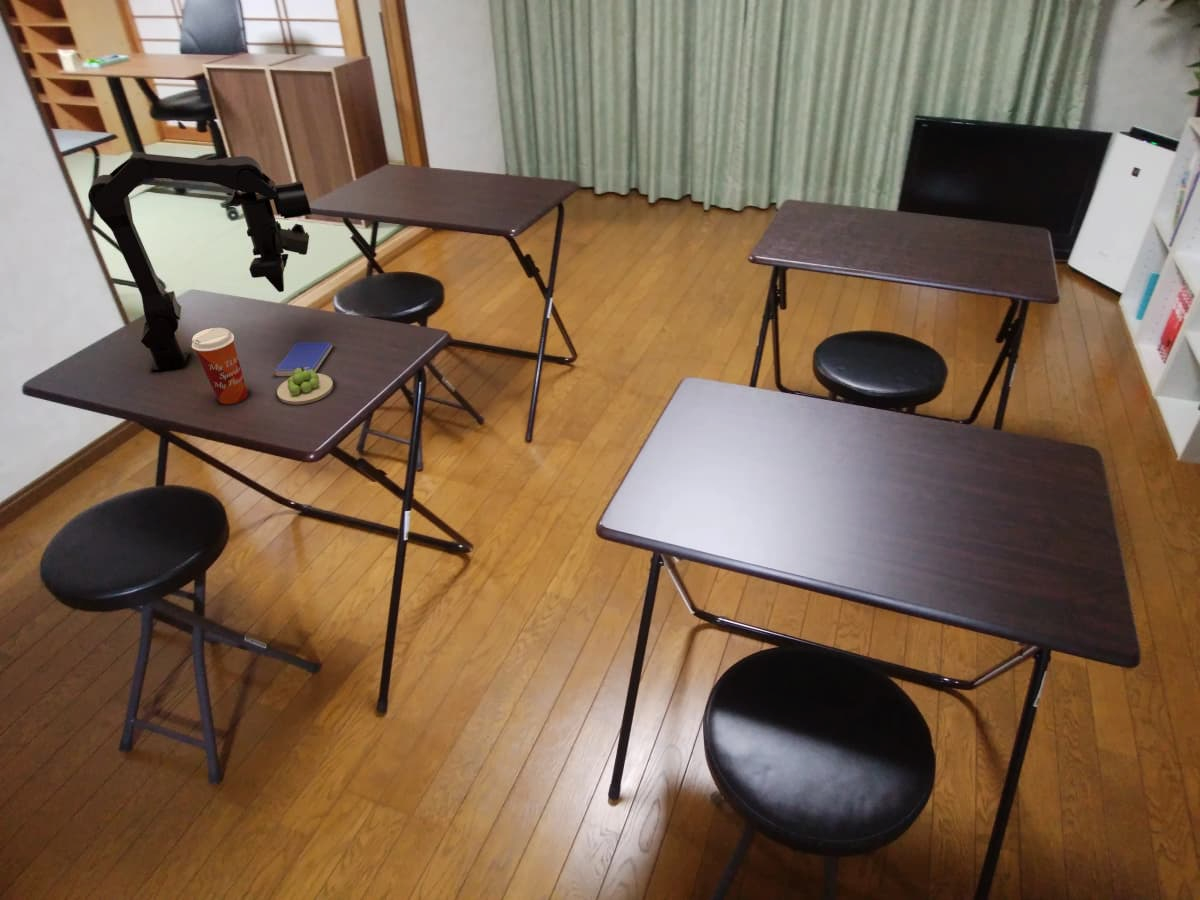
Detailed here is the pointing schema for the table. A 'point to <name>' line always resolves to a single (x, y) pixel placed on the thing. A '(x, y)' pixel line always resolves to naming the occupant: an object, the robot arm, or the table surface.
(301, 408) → the table surface
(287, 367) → the blue book
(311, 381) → the green grapes
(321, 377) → the grape saucer
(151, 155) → the robot arm
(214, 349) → the paper cup
